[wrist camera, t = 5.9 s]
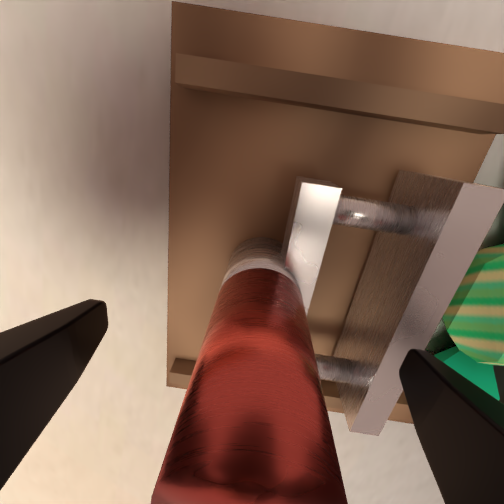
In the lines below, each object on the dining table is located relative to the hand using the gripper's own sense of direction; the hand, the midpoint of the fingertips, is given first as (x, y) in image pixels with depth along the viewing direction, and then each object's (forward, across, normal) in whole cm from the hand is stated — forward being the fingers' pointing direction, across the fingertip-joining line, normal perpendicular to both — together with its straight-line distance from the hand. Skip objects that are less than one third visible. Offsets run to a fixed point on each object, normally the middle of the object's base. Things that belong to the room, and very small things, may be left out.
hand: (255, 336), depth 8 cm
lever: (+5, -2, 0) cm, 5 cm away
